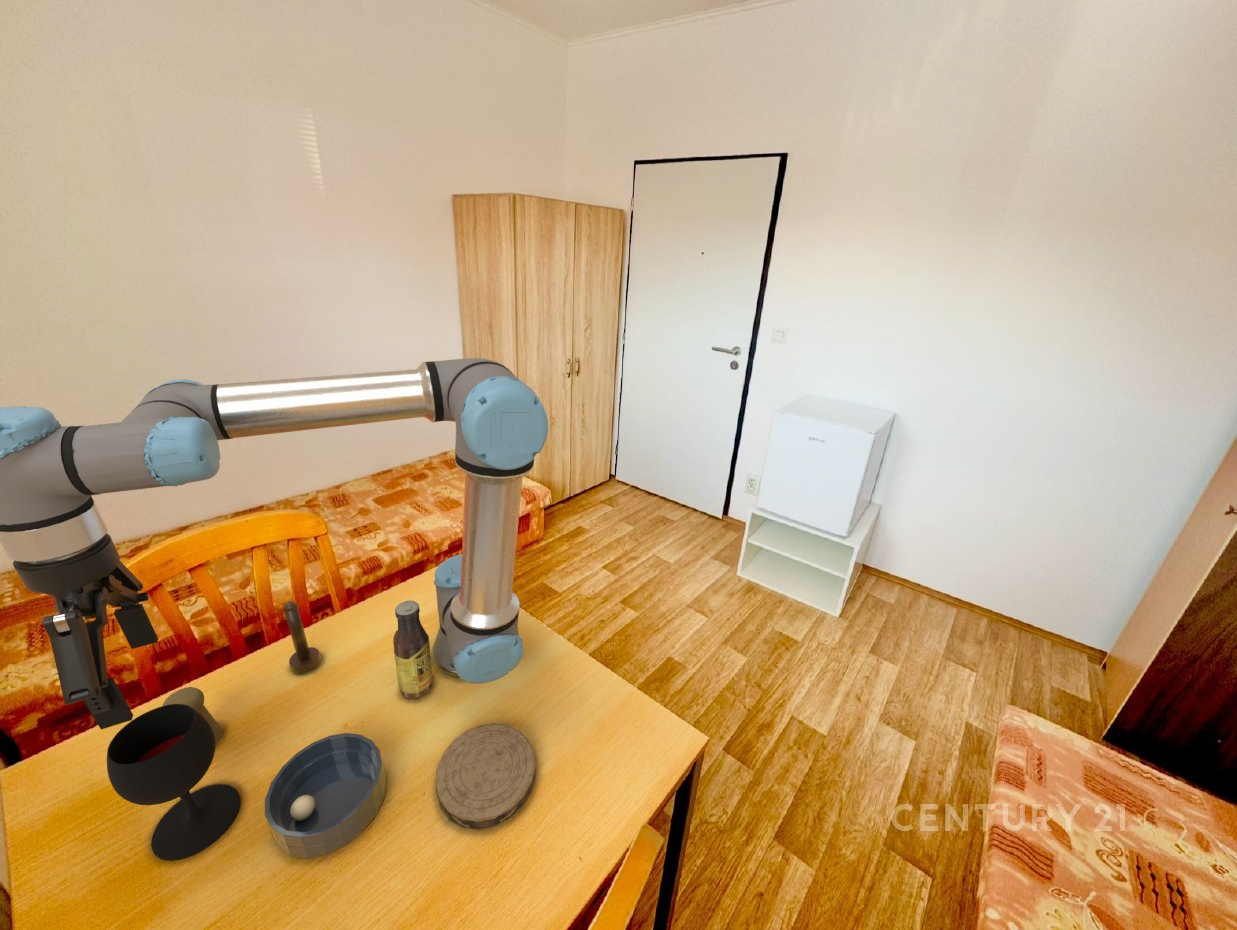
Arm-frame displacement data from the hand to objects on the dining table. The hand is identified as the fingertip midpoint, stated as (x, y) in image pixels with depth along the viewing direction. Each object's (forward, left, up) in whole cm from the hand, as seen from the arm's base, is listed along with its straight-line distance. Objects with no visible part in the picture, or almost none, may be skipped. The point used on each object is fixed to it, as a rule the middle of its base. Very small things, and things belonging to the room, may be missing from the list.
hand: (132, 680), depth 63 cm
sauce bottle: (-34, -5, -27) cm, 43 cm away
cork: (0, -11, -27) cm, 29 cm away
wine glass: (-1, +4, -27) cm, 27 cm away
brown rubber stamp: (-16, -21, -27) cm, 38 cm away
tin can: (-40, +19, -27) cm, 51 cm away
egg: (-14, +11, -24) cm, 30 cm away
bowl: (-18, +11, -27) cm, 34 cm away
